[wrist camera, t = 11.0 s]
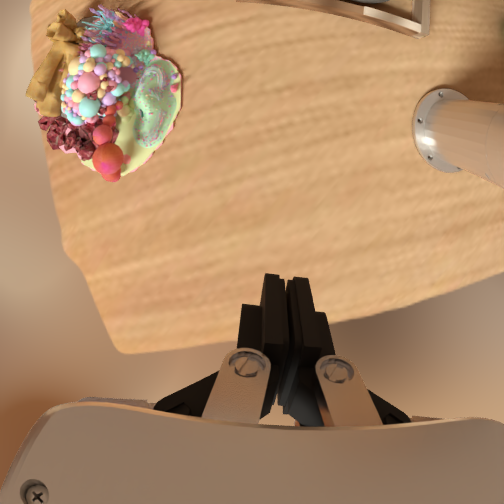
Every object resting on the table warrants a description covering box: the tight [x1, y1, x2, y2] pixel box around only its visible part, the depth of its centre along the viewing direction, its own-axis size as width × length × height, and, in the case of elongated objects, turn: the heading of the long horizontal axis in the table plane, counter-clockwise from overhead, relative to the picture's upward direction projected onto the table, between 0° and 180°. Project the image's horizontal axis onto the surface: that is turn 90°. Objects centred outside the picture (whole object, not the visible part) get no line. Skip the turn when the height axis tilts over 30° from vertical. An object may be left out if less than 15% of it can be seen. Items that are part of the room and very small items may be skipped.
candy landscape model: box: [26, 4, 182, 182], centre depth 33 cm, size 25×24×9 cm
